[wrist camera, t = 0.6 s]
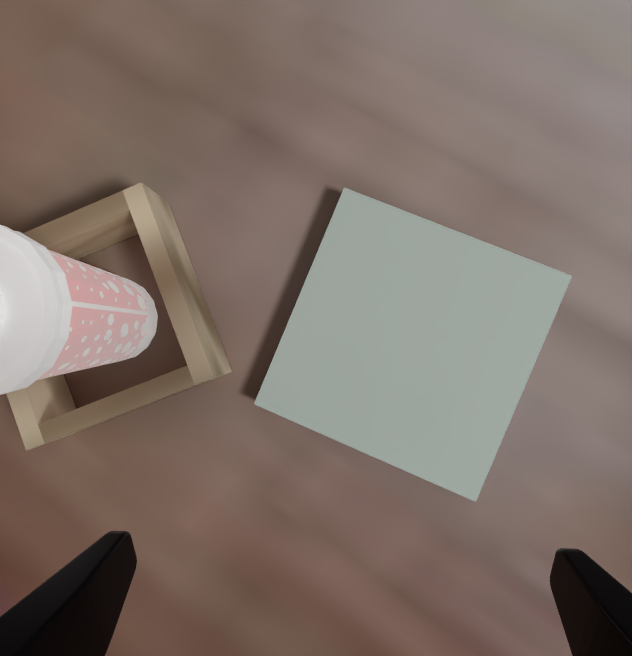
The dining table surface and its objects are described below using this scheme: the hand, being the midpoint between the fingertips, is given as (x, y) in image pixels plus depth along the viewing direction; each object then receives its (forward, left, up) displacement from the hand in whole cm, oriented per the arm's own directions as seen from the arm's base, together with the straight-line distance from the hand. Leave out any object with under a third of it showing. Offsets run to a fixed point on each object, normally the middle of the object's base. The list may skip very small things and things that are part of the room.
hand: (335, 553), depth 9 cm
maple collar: (0, +14, -13) cm, 19 cm away
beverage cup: (0, +14, -14) cm, 19 cm away
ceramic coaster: (+5, -1, -13) cm, 14 cm away
